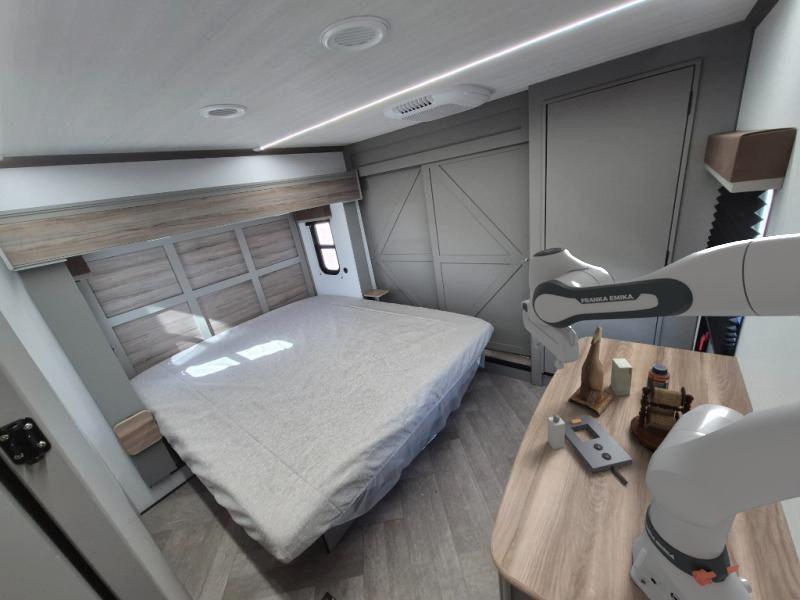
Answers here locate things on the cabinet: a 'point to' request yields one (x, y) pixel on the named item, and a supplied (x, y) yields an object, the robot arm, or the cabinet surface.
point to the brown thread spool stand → (658, 414)
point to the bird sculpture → (593, 379)
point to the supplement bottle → (658, 376)
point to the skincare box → (621, 376)
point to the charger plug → (556, 432)
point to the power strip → (596, 447)
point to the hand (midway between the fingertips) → (548, 357)
